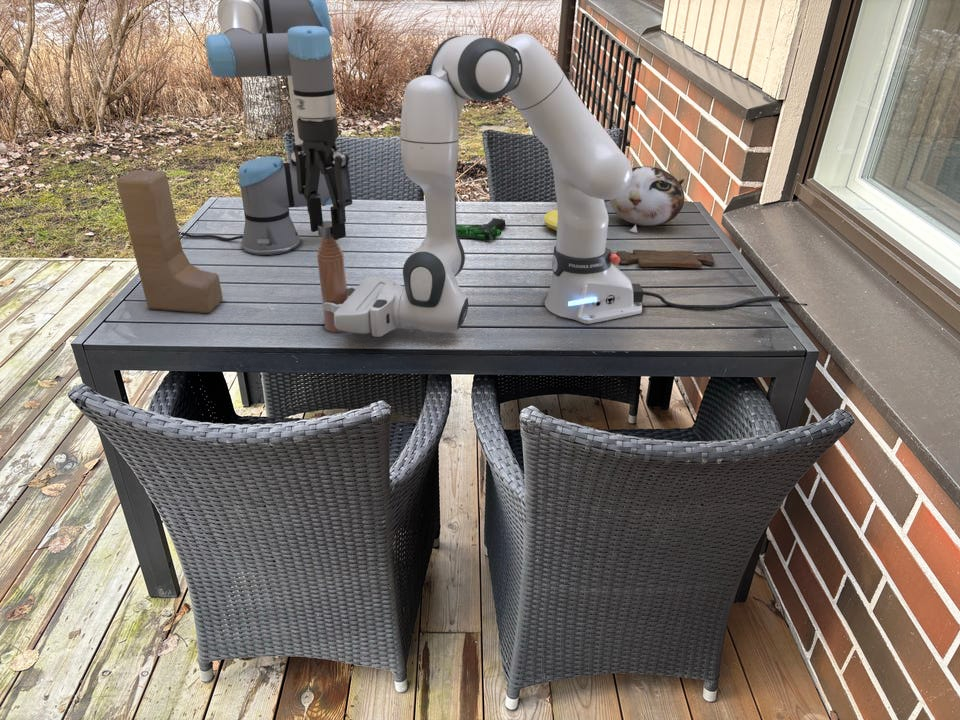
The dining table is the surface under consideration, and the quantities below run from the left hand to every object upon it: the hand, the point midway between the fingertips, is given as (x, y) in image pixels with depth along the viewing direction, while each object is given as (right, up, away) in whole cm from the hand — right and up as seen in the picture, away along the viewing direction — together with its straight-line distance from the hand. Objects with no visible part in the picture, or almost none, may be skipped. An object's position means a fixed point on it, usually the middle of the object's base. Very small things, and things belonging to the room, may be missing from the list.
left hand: (328, 233), depth 146 cm
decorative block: (-37, -13, +19) cm, 43 cm away
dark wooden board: (+81, 0, +45) cm, 92 cm away
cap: (0, +1, -1) cm, 2 cm away
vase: (+57, +13, +65) cm, 88 cm away
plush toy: (+80, +15, +69) cm, 106 cm away
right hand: (-1, -13, +8) cm, 15 cm away
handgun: (+30, +11, +62) cm, 69 cm away
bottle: (0, -18, +11) cm, 21 cm away
